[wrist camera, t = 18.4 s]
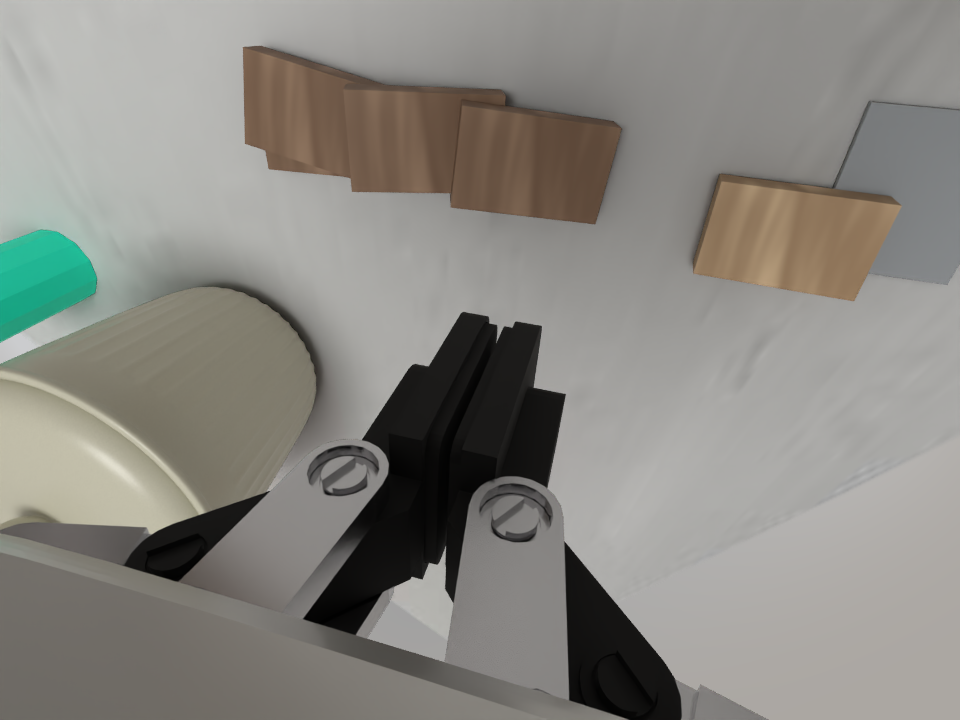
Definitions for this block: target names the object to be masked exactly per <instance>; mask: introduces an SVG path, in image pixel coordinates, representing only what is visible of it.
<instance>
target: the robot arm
mask: <svg viewBox="0 0 960 720" xmlns="http://www.w3.org/2000/svg"><path fill="white" fill-rule="evenodd" d="M541 331H542V326H538V325H533V324H527V323H522V322H515V323H514V326H513V328H511V327H504V328H503V330H502V332H501V334H500V337H499V339H498V341H497V343H496V340H497V325H494V324H489V317H488V316H483V315H477V314H472V313H466V312H462V313H461V314H460V316H459V318H458V319H457V321H456V323H455V324H454V326H453V328H452V329H451V331H450V332H449V334H448V336H447V337H446V339H445V341H444V342H443V344H442V346H441V347H440V349H439V351H438V352H437V354H436V355H435V357H434V359H433V360H432V362H431V364H430V365H429V367H428V366H423V365H418V364H414V365H412V366H411V367H410V368H409V369H408V371H407V372H406V374H405V375H404V377H403V378H402V380H401V381H400V383H399V384H398V386H397V388H396V389H395V391H394V392H393V394H392V395H391V397H390V398H389V400H388V401H387V403H386V404H385V406H384V407H383V409H382V410H381V412H380V413H379V415H378V416H377V418H376V419H375V421H374V422H373V424H372V425H371V427H370V428H369V430H368V431H367V433H366V434H365V436H364V438H363V439H362V440H358V439H341V440H336V441H332V442H328V443H326V444H324V445H321V446H319V447H317V448H316V449H314V450H313V451H312V452H310V453H309V454H308V455H307V456H306V457H304V458H303V459H302V460H301V461H300V462H299V463H298V464H297V465H296V466H295V467H294V468H293V469H292V470H291V471H290V472H289V473H288V474H287V475H286V476H285V477H284V478H283V479H282V480H281V481H280V482H279V483H278V484H277V485H276V486H275V487H274V488H273V489H272V490H271V491H268V492H265V493H262V494H259V495H256V496H254V497H251V498H248V499H245V500H242V501H239V502H236V503H233V504H230V505H227V506H224V507H221V508H218V509H215V510H212V511H209V512H206V513H203V514H200V515H197V516H194V517H192V518H189V519H186V520H183V521H180V522H177V523H174V524H171V525H169V526H167V527H165V528H162V529H160V530H158V531H156V532H155V533H153V534H149V531H148V529H147V527H130V526H108V525H87V524H66V523H44V522H31V523H21V524H16V525H13V526H10V527H7V528H4V529H1V530H0V720H768V719H766V718H764V717H762V716H760V715H758V714H756V713H755V712H753V711H751V710H749V709H747V708H745V707H743V706H741V705H739V704H737V703H735V702H733V701H731V700H729V699H727V698H726V697H724V696H722V695H720V694H718V693H716V692H714V691H712V690H710V689H708V688H706V687H704V686H702V685H700V686H699V688H698V690H697V691H696V690H695V689H693V688H691V687H689V686H687V685H685V684H683V683H681V682H679V681H677V680H675V678H674V676H673V675H672V673H671V672H670V670H669V669H668V667H667V666H666V664H665V663H664V661H663V660H662V659H661V657H660V656H659V655H658V654H657V653H656V651H655V650H654V649H653V648H652V647H651V645H650V644H649V643H648V642H647V641H646V639H645V638H644V637H643V636H642V634H641V633H640V632H639V631H638V630H637V628H636V627H635V626H634V625H633V624H632V623H631V621H630V620H629V619H628V618H627V616H626V615H625V614H624V613H623V612H622V610H621V609H620V608H619V607H618V605H617V604H616V603H615V602H614V601H613V599H612V598H611V597H610V596H609V595H608V593H607V592H606V591H605V590H604V589H603V587H602V586H601V585H600V584H599V583H598V581H597V580H596V579H595V578H594V576H593V575H592V574H591V573H590V572H589V570H588V569H587V568H586V567H585V566H584V564H583V563H582V562H581V561H580V560H579V558H578V557H577V556H576V555H575V554H574V552H573V551H572V550H571V549H570V547H569V546H568V545H567V544H566V543H565V541H564V518H563V513H562V508H561V505H560V503H559V502H558V500H557V499H556V497H555V495H554V494H553V493H552V492H550V491H549V490H548V489H547V487H548V482H549V478H550V473H551V468H552V463H553V458H554V453H555V448H556V443H557V438H558V433H559V427H560V422H561V417H562V412H563V406H564V401H565V395H566V394H562V393H557V392H552V391H547V390H542V389H537V388H533V387H534V380H535V373H536V366H537V359H538V353H539V346H540V339H541ZM445 546H446V583H445V589H446V591H447V593H448V595H449V596H450V598H451V600H452V602H453V603H454V604H453V611H452V617H451V624H450V630H449V636H448V643H447V649H446V656H445V662H442V661H439V660H435V659H432V658H429V657H425V656H422V655H419V654H416V653H412V652H409V651H406V650H402V649H399V648H396V647H393V646H389V645H386V644H383V643H379V642H376V641H373V640H369V639H367V638H368V636H369V635H370V633H371V632H372V630H373V628H374V627H375V625H376V623H377V622H378V620H379V619H380V617H381V615H382V614H383V612H384V611H385V609H386V607H387V606H388V604H389V602H390V600H391V598H392V595H393V593H394V587H395V586H397V585H399V584H401V583H403V582H406V581H408V580H410V579H411V577H415V578H418V579H423V577H424V574H425V572H426V569H427V567H428V564H429V563H433V564H436V565H437V564H438V563H439V562H440V559H441V557H442V554H443V552H444V549H445Z"/></svg>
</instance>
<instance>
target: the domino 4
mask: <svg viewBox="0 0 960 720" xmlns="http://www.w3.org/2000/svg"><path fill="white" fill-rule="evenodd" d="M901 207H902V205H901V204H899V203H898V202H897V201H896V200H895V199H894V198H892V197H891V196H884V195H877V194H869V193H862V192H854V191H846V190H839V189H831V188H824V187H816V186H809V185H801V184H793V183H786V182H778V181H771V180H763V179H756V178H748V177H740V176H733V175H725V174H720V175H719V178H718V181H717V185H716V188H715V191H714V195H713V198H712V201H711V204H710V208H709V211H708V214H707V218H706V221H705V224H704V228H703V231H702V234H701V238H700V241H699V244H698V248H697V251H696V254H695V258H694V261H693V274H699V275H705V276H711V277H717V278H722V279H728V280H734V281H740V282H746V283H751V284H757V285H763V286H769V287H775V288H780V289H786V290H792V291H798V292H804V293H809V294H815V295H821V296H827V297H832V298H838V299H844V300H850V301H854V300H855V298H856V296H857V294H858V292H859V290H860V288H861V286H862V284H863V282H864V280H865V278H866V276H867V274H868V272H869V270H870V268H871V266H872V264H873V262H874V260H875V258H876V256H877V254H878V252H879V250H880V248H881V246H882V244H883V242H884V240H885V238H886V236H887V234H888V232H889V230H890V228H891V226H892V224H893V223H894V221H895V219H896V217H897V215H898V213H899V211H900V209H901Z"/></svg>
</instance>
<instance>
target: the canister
mask: <svg viewBox="0 0 960 720" xmlns="http://www.w3.org/2000/svg"><path fill="white" fill-rule="evenodd" d="M315 395H316V375H315V373H314V365H313V363H312V362H311V359H310V353H309V352H308V351H307V350H306V348H305V344H304V342H303V341H302V340H301V339H300V338H299V336H298V333H297V332H296V331H295V330H294V329H293V328H292V327H291V326H290V324H289V322H287V321H285V320H284V319H283V318H282V317H281V316H280V314H279V313H277V312H275V311H273V310H272V309H271V308H270V307H269V306H268V305H266V304H263V303H261V302H260V301H259V300H258V299H257V298H253V297H250V296H248V295H247V294H245V293H243V292H236V291H234V290H232V289H228V288H219V287H195V288H190V289H187V290H181V291H178V292H174V293H171V294H168V295H166V296H163V297H160V298H158V299H155V300H153V301H150V302H147V303H145V304H142V305H140V306H137V307H134V308H132V309H129V310H127V311H124V312H122V313H119V314H117V315H115V316H112V317H110V318H107V319H105V320H102V321H100V322H98V323H95V324H93V325H91V326H88V327H86V328H84V329H81V330H79V331H77V332H74V333H72V334H69V335H67V336H65V337H62V338H60V339H57V340H55V341H53V342H50V343H48V344H45V345H43V346H41V347H38V348H36V349H34V350H31V351H29V352H27V353H24V354H22V355H20V356H17V357H15V358H13V359H11V360H8V361H6V362H4V363H1V364H0V530H1V529H4V528H7V527H10V526H13V525H16V524H21V523H31V522H44V523H66V524H87V525H108V526H130V527H147V529H148V531H149V534H153V533H155V532H156V531H158V530H160V529H162V528H165V527H167V526H169V525H171V524H174V523H177V522H180V521H183V520H186V519H189V518H192V517H194V516H197V515H200V514H203V513H206V512H209V511H212V510H215V509H218V508H221V507H224V506H227V505H230V504H233V503H236V502H239V501H242V500H245V499H248V498H251V497H254V496H256V495H259V494H262V493H265V492H266V491H267V489H268V488H269V486H270V484H271V483H272V481H273V480H274V478H275V476H276V475H277V473H278V471H279V470H280V468H281V466H282V465H283V463H284V461H285V460H286V458H287V456H288V454H289V453H290V451H291V449H292V447H293V446H294V444H295V442H296V440H297V439H298V437H299V435H300V433H301V432H302V430H303V428H304V426H305V424H306V422H307V420H308V418H309V415H310V413H311V411H312V408H313V405H314V399H315Z"/></svg>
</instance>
